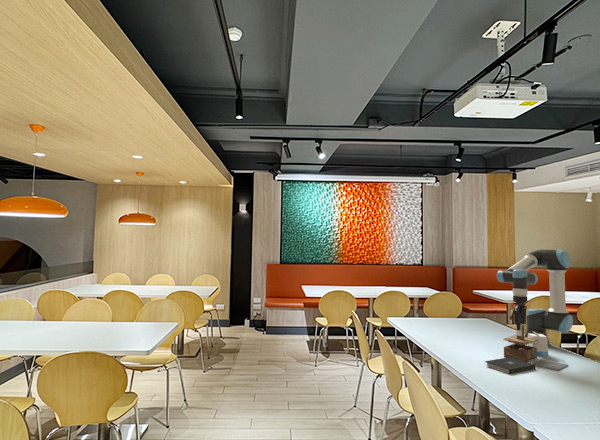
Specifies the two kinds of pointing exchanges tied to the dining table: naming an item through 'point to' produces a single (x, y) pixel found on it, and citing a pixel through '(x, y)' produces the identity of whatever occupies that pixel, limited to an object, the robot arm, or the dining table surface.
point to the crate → (520, 352)
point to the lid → (520, 339)
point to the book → (510, 365)
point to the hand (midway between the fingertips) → (520, 335)
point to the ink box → (539, 343)
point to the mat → (550, 364)
